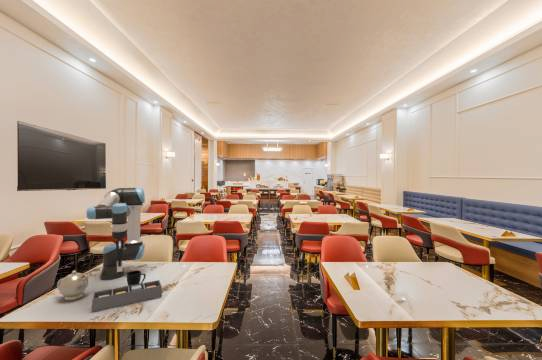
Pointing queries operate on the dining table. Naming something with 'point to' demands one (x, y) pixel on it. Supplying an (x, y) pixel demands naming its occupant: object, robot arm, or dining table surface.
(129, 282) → the mug
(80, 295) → the teapot
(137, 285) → the key
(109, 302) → the compartment tray
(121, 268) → the robot arm
